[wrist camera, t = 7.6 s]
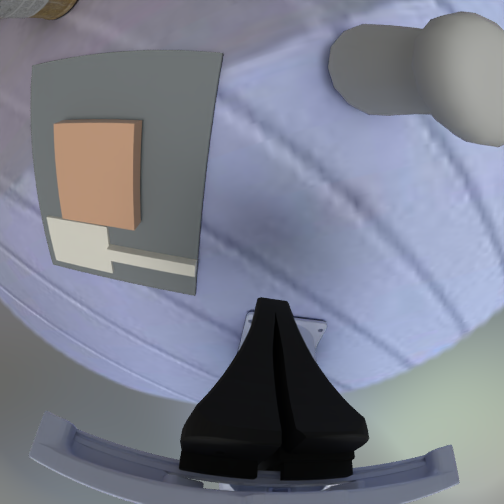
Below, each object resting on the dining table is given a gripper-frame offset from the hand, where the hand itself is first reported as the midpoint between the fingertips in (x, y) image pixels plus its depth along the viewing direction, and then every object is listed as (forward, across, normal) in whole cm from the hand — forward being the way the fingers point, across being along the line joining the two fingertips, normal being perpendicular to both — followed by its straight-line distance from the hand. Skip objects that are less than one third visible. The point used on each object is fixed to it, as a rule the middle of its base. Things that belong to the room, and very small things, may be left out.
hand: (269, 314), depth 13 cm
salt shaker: (+10, -4, -12) cm, 16 cm away
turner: (+10, +13, +6) cm, 17 cm away
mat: (+10, +13, -1) cm, 16 cm away
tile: (+9, +10, -2) cm, 13 cm away
